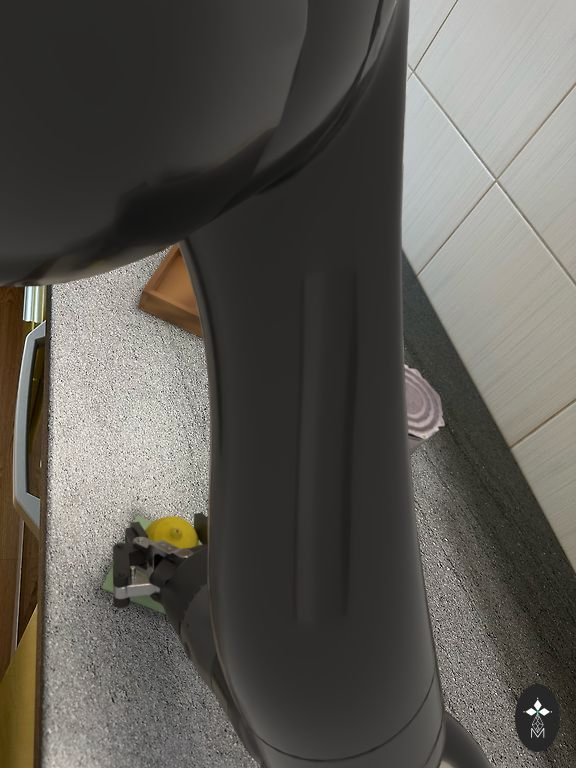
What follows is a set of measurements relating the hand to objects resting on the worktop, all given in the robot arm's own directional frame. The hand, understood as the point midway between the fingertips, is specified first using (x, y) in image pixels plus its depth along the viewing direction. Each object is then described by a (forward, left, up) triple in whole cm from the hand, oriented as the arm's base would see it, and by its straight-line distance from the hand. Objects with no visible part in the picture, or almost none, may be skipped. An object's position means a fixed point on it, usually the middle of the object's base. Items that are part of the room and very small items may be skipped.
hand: (166, 527), depth 54 cm
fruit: (+1, -1, -5) cm, 5 cm away
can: (+20, +25, -6) cm, 32 cm away
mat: (+1, -1, -6) cm, 6 cm away
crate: (-8, +37, -6) cm, 38 cm away
